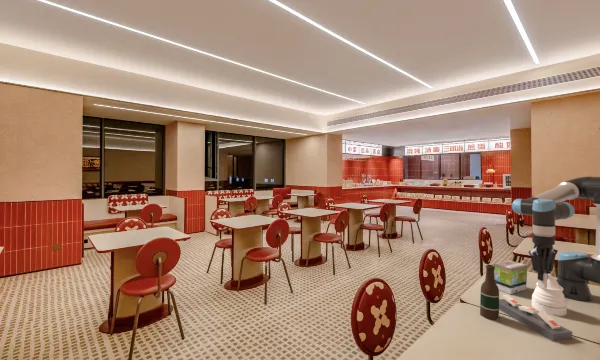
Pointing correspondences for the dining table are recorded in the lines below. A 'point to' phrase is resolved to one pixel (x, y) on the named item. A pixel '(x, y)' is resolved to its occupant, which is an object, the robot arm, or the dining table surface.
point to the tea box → (510, 276)
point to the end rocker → (548, 320)
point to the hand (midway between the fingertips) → (542, 287)
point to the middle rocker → (528, 309)
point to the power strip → (534, 322)
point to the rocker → (511, 300)
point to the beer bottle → (489, 296)
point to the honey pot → (550, 298)
